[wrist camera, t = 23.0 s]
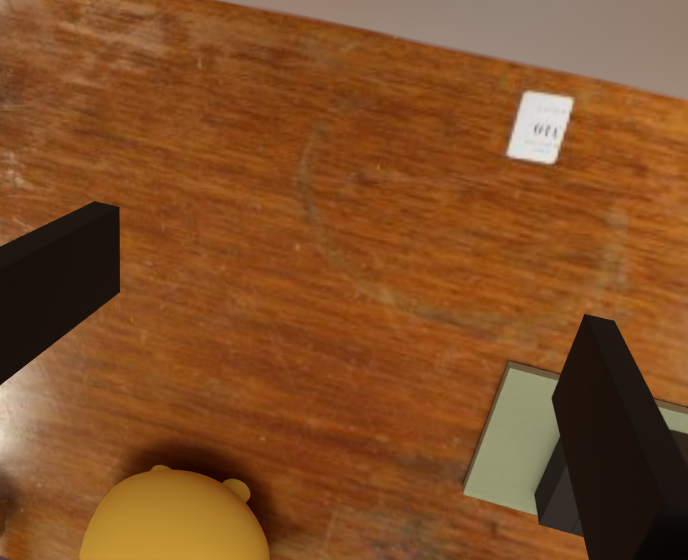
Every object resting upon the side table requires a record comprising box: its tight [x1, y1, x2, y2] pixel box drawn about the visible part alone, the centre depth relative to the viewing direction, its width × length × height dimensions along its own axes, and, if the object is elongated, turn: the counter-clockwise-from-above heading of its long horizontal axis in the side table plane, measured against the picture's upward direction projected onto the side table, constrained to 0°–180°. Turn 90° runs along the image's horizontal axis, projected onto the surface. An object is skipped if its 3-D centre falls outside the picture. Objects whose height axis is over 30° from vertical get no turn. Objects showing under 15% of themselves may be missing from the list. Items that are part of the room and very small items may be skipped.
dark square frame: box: [534, 437, 584, 537], centre depth 40 cm, size 8×8×3 cm
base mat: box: [463, 361, 688, 516], centre depth 41 cm, size 12×18×4 cm, turn 79°
